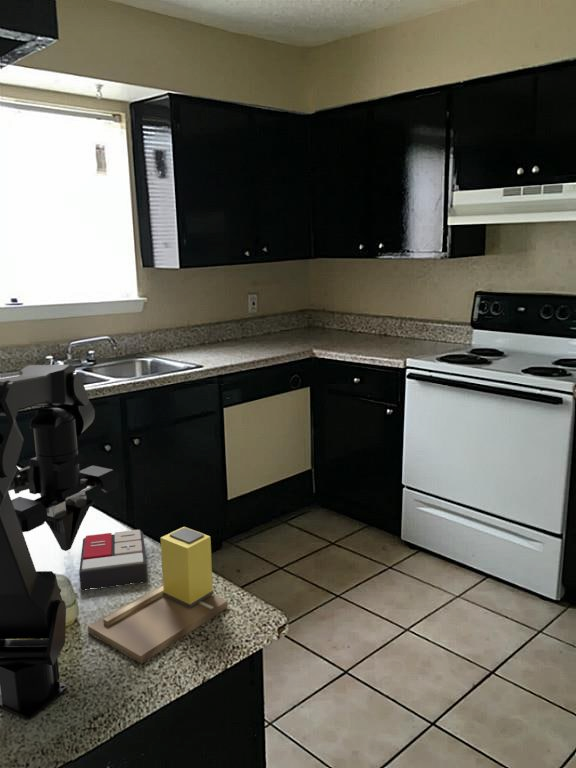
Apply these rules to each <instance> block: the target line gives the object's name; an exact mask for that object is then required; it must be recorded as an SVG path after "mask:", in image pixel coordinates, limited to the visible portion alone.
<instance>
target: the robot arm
mask: <svg viewBox="0 0 576 768" xmlns="http://www.w3.org/2000/svg"><path fill="white" fill-rule="evenodd" d="M18 373H19V375H15V376H10V377H3V378H0V416H5V417H6V418H7V422H8V424H7V426H6V430H5V432H4V434H3V433H0V708H1V709H2V710H5V711H7V712H10V713H11V714H13V715H16V716H18V717H19V718H22V719H24V720H30V719H33V718H34V717H35V716H36V715H37V714H39V713H40V712H41V711H43V710H44V709H45V708H47V706H49V705H50V704H51V703H53V702H54V701H55V700H56V699H58V698H59V697H60V696H62V694H64V693H65V692H66V691H67V690H68V686H67V684H65V683H62V682H60V681H59V680H60V669H59V655H60V653H61V652H62V650H63V648H64V646H65V644H66V627H67V625H66V624H67V606H66V602H65V600H63V598H62V595H61V592H62V589H61V588H60V587H59V585H58V581H57V575H56V574H55V573H54V572H53V571H52V570H51V571H50V570H45V571H43V570H42V571H41V570H39V571H38V570H36V567H35V564H34V561H33V558H32V556H31V552H30V550H29V547H28V544H27V542H26V537H25V535H24V533H27V532H28V533H29V532H30V531H33V530H34V529H36V528H39V527H41V526H43V525H44V524H47V525H48V527H49V529H50V530H51V532H52V534H53V536H54V538H55V539H56V542H57V544H58V546H59V548H60V549H61V550H62V551H65V552H68V551H70V550H71V548H72V546H73V544H74V542H75V539H76V536H77V534H78V533H79V529H80V528H81V525H82V523H83V521H84V519H85V517H86V515H87V513H88V511H89V509H90V507H91V506H93V505H94V500H92V499H88V498H87V495H86V492H87V491H90V490H92V489H93V488H95V487H97V486H98V487H99V485H100V490H101V491H103V492H104V493H111V492H112V491H114V490H115V489H117V488H119V487H120V483H119V475H118V474H117V471H115V470H114V469H112V468H107V467H102V466H97V465H91V466H88V467H86V468H83V469H81V470H80V464H82V463H84V462H86V460H85V459H86V458H85V457H86V456H85V454H81V453H79V451H78V450H79V447H78V440H77V439H78V437H79V436H80V435H82V434H83V432H85V431H86V430H87V429H88V427H89V426H90V425H92V424H93V422H94V420H95V415H96V413H95V412H96V410H95V408H94V406H93V404H92V403H91V401H90V398H89V395H88V392H87V389H86V387H85V384H84V383H83V378H82V377H81V374H80V373H79V372H76V367H75V366H74V365H73V364H28V365H27V366H24V367H23V368H22V369H20V370H19V372H18ZM32 407H47V408H45V409H41V408H40V409H37V410H36V413H35V415H34V416H33V417H32V419H30V423H29V428H30V429H33V437H34V448H35V457H34V456H33V457H32V458H30V460H29V463H28V466H25V467H23V468H20V469H19V468H18V467H17V464H18V461H19V458H20V454H21V451H22V448H23V444H24V437H23V435H22V432H21V429H20V426H19V425H18V422H17V420H16V419H17V416H18V413H19V411H21V410H24V409H27V408H32ZM26 490H27V491H28V490H29V491H28V492H29V494H33V495H37V494H38V495H40V497H38V498H36V499H31V498H26V497H22V496H18V497H16V498H13V499H12V498H11V496H10V491H13V492H14V494H16V495H17V494H19V493H21V492H23V491H26Z"/></svg>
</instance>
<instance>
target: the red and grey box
mask: <svg viewBox="0 0 576 768" xmlns="http://www.w3.org/2000/svg"><path fill="white" fill-rule="evenodd" d="M79 564H80V565H79V572H78V575H79V585H80V591H81V590H85V589H90V588H100V589H102V588H101V587H107V588H111V587H110V586H115V587H117V586H116V585H122V586H126V585H125V584H130V583H137V584H142V583H141V582H144V583H147V582H148V570H147V569H148V568H147V557H146V547H145V537H144V532H143V531H141V530H140V529H133V530H123V531H117V532H116V531H115V532H114V533H111V532H107V533H100V534H99V533H97V534H90V535H86V536H85V537H84V538H83V539H82V546H81V555H80V562H79ZM130 585H131V584H130ZM85 591H86V590H85Z"/></svg>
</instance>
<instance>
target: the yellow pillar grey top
mask: <svg viewBox="0 0 576 768" xmlns="http://www.w3.org/2000/svg"><path fill="white" fill-rule="evenodd" d="M211 543H212V541H211V536H210V535H207V534H205V533H203V532H200V531H197V530H194V529H192V528H189V527H186V526H183V527H180V528H178V529H176V530H173V531H171V532H170V533H168V534H165V535H163V536H161V537H160V551H161V568H162V569H161V570H162V585H163V590H164V592H163V595H164V596H166V597H168V598H170V599H172V600H174V601H176V602H179V603H181V604H183V605H185V606H187V607H189V608H191V607H192V606H194V605H196V604H197V603H199V602H201V601H202V600H204V599H206V598H207V597H209V596H210V595H212V594H213V595H215V594H214V590H213V569H212V568H213V567H212V544H211Z"/></svg>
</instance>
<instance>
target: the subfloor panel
mask: <svg viewBox="0 0 576 768" xmlns="http://www.w3.org/2000/svg"><path fill="white" fill-rule="evenodd" d="M163 592H164V590H163V584H161V585H159V586H157V587H156V588H154V589H152V590H150V591H149V592H146V593H145V594H143V595H141V596H139V597H137V598H136V599H135V598H134V600H132V601H130V602H128V603H126V604H125V605H123V606H121V607H119V608H117V609H116V610H114V611H112V612H110V613H107V614H106V615H104V616H103V617H101V618H99V619H96V620H95V621H94V622H92V623H90V624H88V625H87V633H88V632H89V633H90V634H89V633H88V634H89V635H91V634H92V635H91V636H93V635H94V636H96V637H98V638H99V639H98V638H97V639H98V640H100V639H101V640H102V642H103V641H104V642H103V643H105V642H106V643H107V644H106V643H105V644H106V645H108V644H109V645H108V646H110V645H111V646H110V647H112V646H113V647H114V648H113V647H112V648H113V649H115V648H116V649H115V650H117V649H118V650H120V651H122V652H123V653H122V652H121V653H122V654H124V653H125V654H126V655H125V654H124V655H125V656H127V655H128V656H127V657H129V656H130V657H131V658H130V657H129V658H130V659H132V658H133V659H132V660H133V661H136V662H137V663H138V664H139V663H140V664H141V665H142V664H143V663H145V662H146V661H148V660H149V659H151V658H153V657H154V656H156V655H157V654H159V653H160V652H162V651H163V650H165V649H166V648H168V647H169V646H171V645H172V644H174V643H175V642H177V641H179V640H180V639H182V638H184V637H185V636H186V635H188V634H189V633H191V632H192V631H195V629H197V628H199V627H200V626H202V625H203V624H206V623H207V622H208V621H210V620H211V619H213V618H215V616H217V615H219V614H220V613H221V612H223V611H225V610H226V609H228V607H229V606H228V605H229V604H228V600H226V599H224V598H222V597H220V596H217V595H215V594H212V595H210V596H209V597H207V598H206V599H204V600H202V601H201V602H199V603H197V604H196V605H194V606H192V607H191V608H189V607H187V606H185V605H183V604H181V603H179V602H176V601H174V600H172V599H170V598H168V597H166V596H164V595H163ZM94 636H93V637H94ZM96 637H95V638H96ZM101 640H100V641H101ZM118 650H117V651H118ZM120 651H119V652H120ZM155 654H156V655H155Z"/></svg>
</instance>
